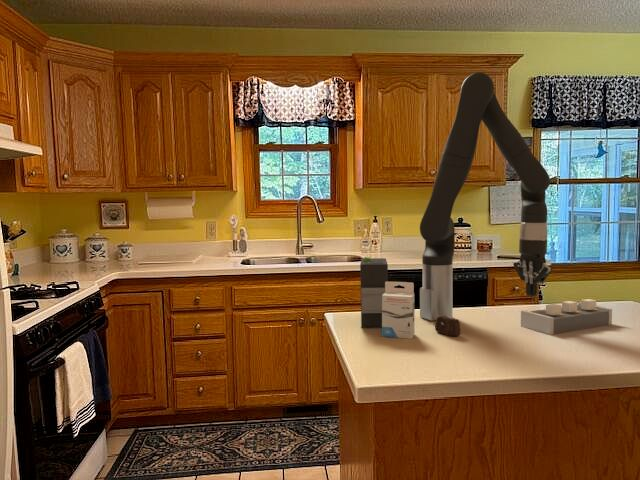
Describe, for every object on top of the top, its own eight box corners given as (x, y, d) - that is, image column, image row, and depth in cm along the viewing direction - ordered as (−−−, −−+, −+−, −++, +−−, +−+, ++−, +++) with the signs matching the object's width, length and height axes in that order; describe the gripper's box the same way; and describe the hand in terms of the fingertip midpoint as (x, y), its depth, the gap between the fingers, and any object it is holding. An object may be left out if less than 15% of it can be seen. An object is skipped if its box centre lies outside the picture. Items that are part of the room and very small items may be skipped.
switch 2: (569, 312, 140) (569, 303, 140) (561, 310, 143) (562, 301, 142) (577, 310, 142) (577, 302, 141) (569, 309, 144) (569, 300, 144)
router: (386, 315, 161) (385, 254, 160) (388, 329, 143) (387, 261, 142) (361, 314, 162) (361, 254, 160) (361, 329, 144) (360, 261, 142)
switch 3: (588, 309, 142) (588, 301, 142) (580, 308, 145) (581, 299, 145) (596, 308, 144) (596, 300, 144) (588, 307, 146) (588, 298, 146)
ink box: (381, 337, 135) (380, 284, 134) (384, 332, 140) (384, 281, 139) (412, 339, 132) (412, 285, 131) (415, 334, 137) (414, 282, 136)
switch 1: (552, 315, 137) (553, 306, 137) (545, 313, 139) (545, 304, 139) (561, 313, 138) (561, 305, 138) (553, 312, 141) (554, 303, 140)
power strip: (550, 334, 134) (550, 318, 133) (520, 326, 143) (521, 310, 143) (611, 324, 143) (612, 308, 143) (580, 316, 153) (580, 302, 152)
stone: (434, 332, 139) (434, 314, 139) (441, 330, 141) (441, 313, 140) (455, 338, 133) (455, 320, 132) (462, 336, 134) (462, 318, 134)
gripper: (506, 236, 149) (505, 293, 150) (542, 240, 137) (539, 301, 138) (525, 235, 152) (523, 291, 153) (561, 239, 140) (559, 299, 141)
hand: (531, 295), depth 146 cm, fingers closed
